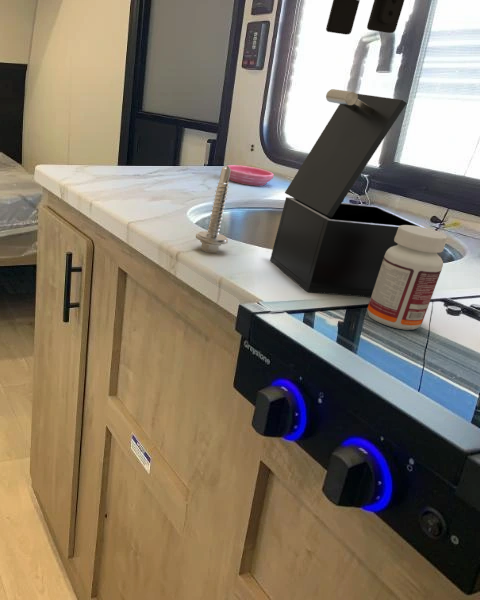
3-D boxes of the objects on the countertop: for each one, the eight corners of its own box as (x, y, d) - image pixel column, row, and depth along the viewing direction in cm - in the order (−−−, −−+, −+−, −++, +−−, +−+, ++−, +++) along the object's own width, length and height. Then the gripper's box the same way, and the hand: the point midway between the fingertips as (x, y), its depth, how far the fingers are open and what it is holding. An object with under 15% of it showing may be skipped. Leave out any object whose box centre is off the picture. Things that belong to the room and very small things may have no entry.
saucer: (272, 189, 149) (275, 177, 148) (222, 181, 151) (224, 169, 150) (269, 181, 160) (272, 169, 159) (223, 174, 162) (225, 162, 161)
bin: (358, 268, 92) (378, 206, 89) (408, 300, 81) (432, 230, 77) (269, 260, 90) (285, 197, 87) (307, 292, 79) (328, 220, 75)
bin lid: (351, 94, 82) (321, 76, 80) (407, 102, 70) (374, 81, 69) (288, 195, 87) (259, 179, 85) (331, 218, 75) (299, 200, 74)
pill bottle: (417, 318, 74) (449, 231, 70) (422, 336, 69) (457, 242, 65) (364, 306, 76) (392, 220, 72) (365, 322, 71) (396, 230, 67)
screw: (190, 251, 90) (196, 243, 94) (222, 258, 89) (226, 249, 93) (208, 164, 85) (213, 160, 89) (242, 170, 84) (245, 166, 88)
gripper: (492, -156, 58) (431, 35, 65) (390, -113, 74) (350, 37, 80) (422, -170, 57) (367, 25, 64) (334, -123, 73) (297, 29, 79)
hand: (357, 32), depth 72 cm, fingers open, 9 cm apart
